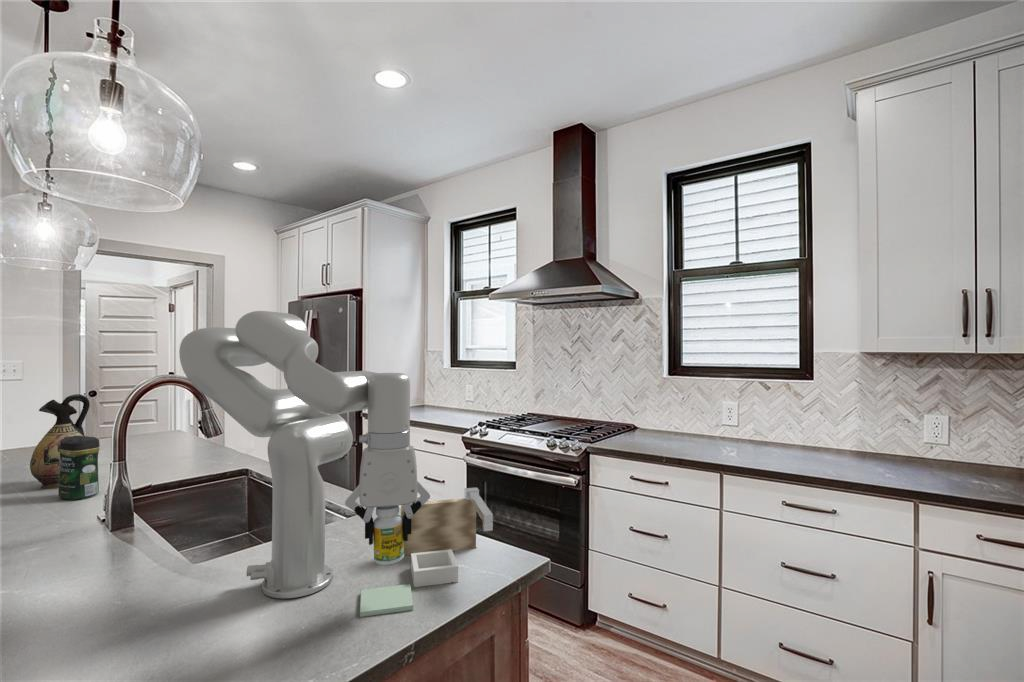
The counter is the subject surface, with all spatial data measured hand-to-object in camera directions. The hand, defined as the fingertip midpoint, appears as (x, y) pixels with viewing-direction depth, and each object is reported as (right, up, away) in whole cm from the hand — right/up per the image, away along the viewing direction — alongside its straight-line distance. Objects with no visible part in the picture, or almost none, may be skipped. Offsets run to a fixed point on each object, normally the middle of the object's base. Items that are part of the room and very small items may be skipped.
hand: (388, 539), depth 88 cm
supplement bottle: (0, -4, 0) cm, 4 cm away
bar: (+15, -2, +17) cm, 23 cm away
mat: (0, -11, 0) cm, 11 cm away
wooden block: (+6, -12, +23) cm, 26 cm away
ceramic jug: (-126, -12, +73) cm, 146 cm away
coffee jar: (-110, -12, +60) cm, 126 cm away
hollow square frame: (+7, -12, +11) cm, 17 cm away
